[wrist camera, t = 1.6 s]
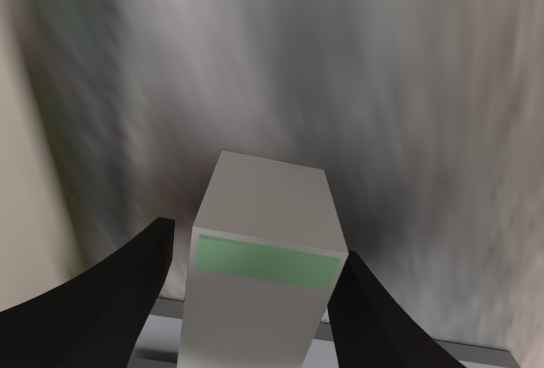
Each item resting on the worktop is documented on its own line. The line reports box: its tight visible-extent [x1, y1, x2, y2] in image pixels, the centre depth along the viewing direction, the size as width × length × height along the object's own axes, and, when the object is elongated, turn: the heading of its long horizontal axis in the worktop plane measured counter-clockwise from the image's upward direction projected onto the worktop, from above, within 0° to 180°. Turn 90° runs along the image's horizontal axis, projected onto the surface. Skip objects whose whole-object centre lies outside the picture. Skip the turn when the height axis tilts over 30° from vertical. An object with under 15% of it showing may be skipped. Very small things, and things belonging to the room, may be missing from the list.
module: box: [177, 150, 349, 368], centre depth 12 cm, size 4×7×5 cm, turn 168°
